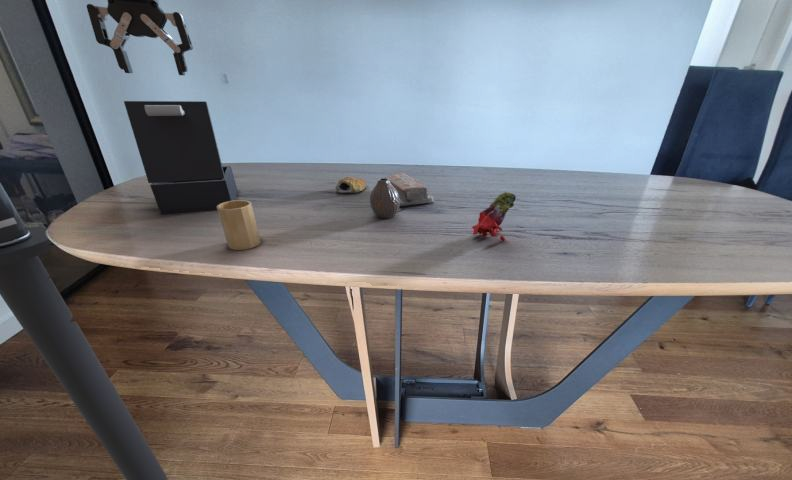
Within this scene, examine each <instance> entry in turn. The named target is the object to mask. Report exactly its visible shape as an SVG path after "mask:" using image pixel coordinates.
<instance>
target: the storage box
mask: <svg viewBox="0 0 792 480" xmlns="http://www.w3.org/2000/svg"><path fill="white" fill-rule="evenodd" d="M222 167H223V171H224V176H225V178H223V179H208V180H192V181H176V182H160V183H150V185H149V186H150V189H151V191H152V194H153V198H154V200H155V202H156V204H157V207H158V210H159V213H160V215H169V214H171V215H172V214H182V213H191V212H202V211H203V212H204V211H215V210H217V205H219V204H221V203H224V202H227V201H234V200H236V199H237V196H238V195H237V194H238V188H237V183H236V180H235V176H234V172H233V168H232V165H227V166H226V165H224V166H223V165H222Z"/></svg>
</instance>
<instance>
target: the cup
mask: <svg viewBox="0 0 792 480" xmlns="http://www.w3.org/2000/svg"><path fill="white" fill-rule="evenodd" d="M216 210H217V214H218V218H219V221H220V224H221V227H222V230H223V234H224V237H225V240H226V245H227V246H228V248H229V249H230V250H234V251H242V250H243V251H244V250H250V249H253V248H255V247H258V246H259V245H261V237H260V232H259V228H258V224H257V219H256V217H255V216H256V215H255V213H254V208H253V205H252V202H251V201H249V200H245V199H235V200H234V201H227V202H224V203H221V204H219V205H217V209H216Z"/></svg>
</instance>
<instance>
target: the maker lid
mask: <svg viewBox="0 0 792 480" xmlns="http://www.w3.org/2000/svg"><path fill="white" fill-rule="evenodd" d="M123 103H124V104H123V105H124V106H125V110H126V113H127V116H128V120H129V123H130V126H131V130H132V134H133V136H134V137H133V138H134V140H135V143H136V146H137V150H138V153H139V156H140V159H141V163H142V166H143V170H144V173H145V175H146V176H145V177H146V180H147V182H148V184H152V183H160V182H176V181H192V180H208V179H223V178H225V176H224V171H223V167H222V166H223V163H222V160H221V154H220V151H219V148H218V147H219V146H218V143H217V139H216V135H215V134H216V133H215V131H214V127H213V122H212V118H211V114H210V110H209V105H208V102H207V101H206V100H205V101H204V100H203V101H201V100H200V101H199V100H198V101H194V100H193V101H189V100H188V101H187V100H185V101H182V100H180V101H175V100H174V101H173V100H172V101H169V100H168V101H167V100H165V101H164V100H124V101H123Z"/></svg>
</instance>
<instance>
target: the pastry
mask: <svg viewBox="0 0 792 480" xmlns="http://www.w3.org/2000/svg"><path fill="white" fill-rule="evenodd" d="M366 185H367V182H366V180H365V179H362V178H359V177H350V176H347V177H344V178H341V179H339V180H338V181H337V183H336V185H335V190H336V192H337V193H339V194H357V193H359V192H362V191H364V190H365V188H366V187H367V186H366Z"/></svg>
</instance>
